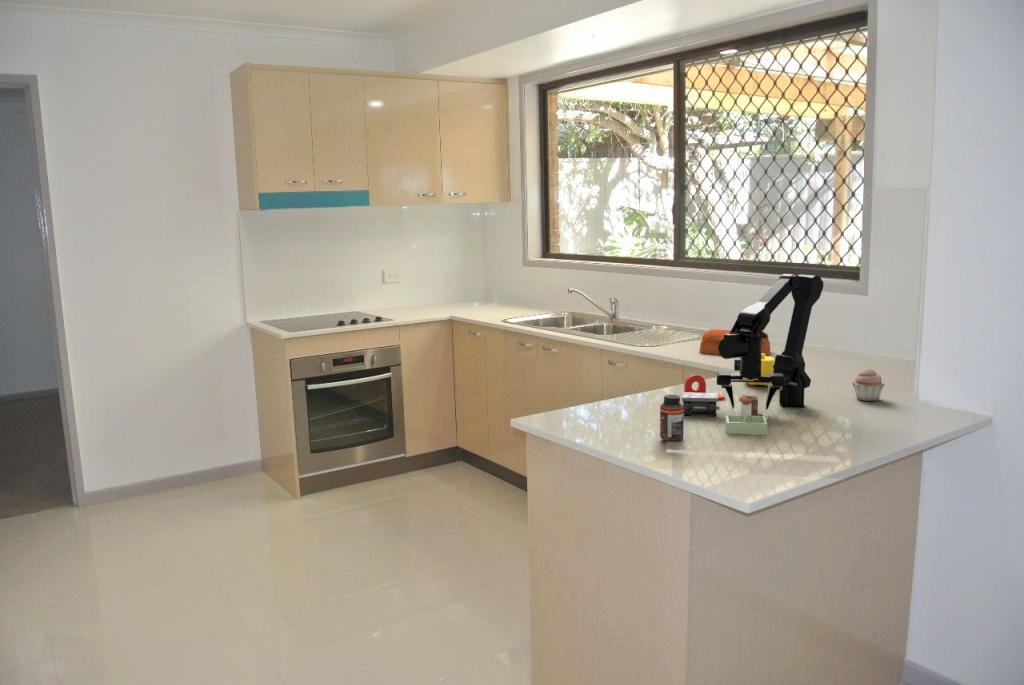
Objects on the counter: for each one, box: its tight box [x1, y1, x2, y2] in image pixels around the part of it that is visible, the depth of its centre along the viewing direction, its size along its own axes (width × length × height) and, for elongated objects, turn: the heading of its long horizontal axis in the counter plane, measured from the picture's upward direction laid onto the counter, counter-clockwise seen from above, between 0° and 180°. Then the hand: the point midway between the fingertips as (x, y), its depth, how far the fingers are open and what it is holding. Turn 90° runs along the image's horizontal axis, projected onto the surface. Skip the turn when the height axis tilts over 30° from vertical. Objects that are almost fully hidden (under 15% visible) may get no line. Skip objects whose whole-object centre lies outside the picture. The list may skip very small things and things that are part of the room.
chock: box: [741, 394, 759, 413], centre depth 232 cm, size 4×6×5 cm, turn 167°
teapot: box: [743, 353, 775, 388], centre depth 269 cm, size 18×11×11 cm, turn 158°
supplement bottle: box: [659, 394, 685, 442], centre depth 208 cm, size 6×6×11 cm
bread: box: [699, 328, 772, 357], centre depth 324 cm, size 16×27×11 cm, turn 61°
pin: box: [739, 396, 754, 423], centre depth 214 cm, size 4×4×8 cm
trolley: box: [681, 391, 720, 417], centre depth 233 cm, size 11×8×5 cm
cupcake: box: [851, 366, 886, 402], centre depth 246 cm, size 9×9×10 cm
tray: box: [725, 414, 768, 436], centre depth 215 cm, size 10×8×3 cm
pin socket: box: [751, 413, 769, 427], centre depth 222 cm, size 6×6×2 cm
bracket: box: [683, 374, 726, 401], centre depth 250 cm, size 12×4×8 cm, turn 104°
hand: (749, 408), depth 232 cm, fingers open, 9 cm apart
